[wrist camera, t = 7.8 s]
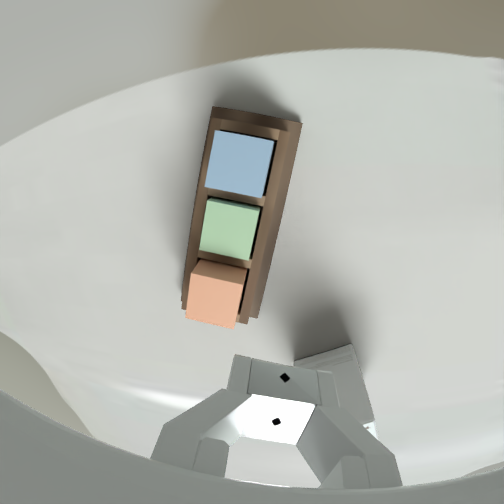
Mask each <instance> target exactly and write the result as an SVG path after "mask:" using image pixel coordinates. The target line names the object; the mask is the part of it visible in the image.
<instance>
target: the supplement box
mask: <svg viewBox="0 0 504 504" xmlns="http://www.w3.org/2000/svg"><path fill="white" fill-rule="evenodd" d="M294 367H299V368H305V369H312V370H324V371H331V372H332V373H333V377H334V382H335V387H336V391H337V396H338V401H339V406H340V408H345V409H346V410H347V411H348V412H349V413H350V414H351V415H352V416H353V417H354V418H355V419H356V420H357V421H358V422H359V423H360V424H361V425H363V426H364V427H365V428H366V429H367V430H368V431H369V432H370V433H371V434H372V435H373V436H374V437H375V438H376V439H377V440H379V437H378V432H377V427H376V423H375V418H374V415H373V411H372V407H371V404H370V400H369V397H368V393H367V390H366V387H365V383H364V380H363V377H362V373H361V370H360V367H359V364H358V361H357V357H356V354H355V351H354V348H353V345H352V344H349V345H346V346H343V347H340V348H337V349H334V350H330V351H327V352H324V353H321V354H317V355H314V356H311V357H307V358H304V359H301V360H297V361H294Z"/></svg>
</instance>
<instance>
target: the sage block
mask: <svg viewBox="0 0 504 504" xmlns="http://www.w3.org/2000/svg"><path fill="white" fill-rule="evenodd" d="M260 208H261V206H259V205H254V204H250V203H245V202H240V201H235V200H230V199H226V198H221V197H216V196H213V197H211V198H210V199H208V200H207V204H206V210H205V216H204V222H203V228H202V234H201V241H200V247H199V250H203V251H207V252H212V253H216V254H221V255H225V256H230V257H234V258H239V259H243V260H248V261H249V257H250V253H251V250H252V246H253V241H254V237H255V232H256V227H257V222H258V218H259V213H260Z"/></svg>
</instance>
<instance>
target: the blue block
mask: <svg viewBox="0 0 504 504" xmlns="http://www.w3.org/2000/svg"><path fill="white" fill-rule="evenodd" d="M273 146H274V141H270V140H266V139H261V138H256V137H250V136H245V135H240V134H234V133H229V132H223V131H217V130H215V134H214V139H213V144H212V149H211V154H210V160H209V165H208V170H207V176H206V182H205V187H208V188H213V189H218V190H223V191H228V192H233V193H238V194H243V195H248V196H253V197H257V198H262V195H263V192H264V188H265V183H266V179H267V174H268V169H269V165H270V160H271V155H272V151H273Z"/></svg>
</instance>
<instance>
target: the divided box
mask: <svg viewBox="0 0 504 504" xmlns="http://www.w3.org/2000/svg"><path fill="white" fill-rule="evenodd" d="M302 124H303V123H299V122H295V121H290V120H286V119H281V118H276V117H271V116H267V115H261V114H256V113H251V112H245V111H239V110H233V109H227V108H221V107H214V106H212V111H211V116H210V121H209V126H208V131H207V136H206V141H205V146H204V151H203V157H202V162H201V168H200V173H199V179H198V185H197V191H196V197H195V203H194V209H193V215H192V222H191V228H190V235H189V242H188V249H187V256H186V264H185V271H184V279H183V287H182V296H181V301H182V309H184V310H186V308H187V300H188V292H189V285H190V277H191V272H192V271H193V269H194V268H195V267H196V265H197V264H198V262H199V261H200V259H201V258H204V259H209V260H213V261H218V262H222V263H227V264H231V265H236V266H240V267H245V268H247V273H246V277H245V282H244V287H243V291H242V296H241V301H240V306H239V310H238V314H237V318H236V322H239V323H244V324H247V323H248V319H249V317H253V318H258V314H259V310H260V306H261V302H262V298H263V294H264V290H265V285H266V281H267V277H268V273H269V269H270V265H271V260H272V256H273V252H274V248H275V244H276V239H277V235H278V231H279V226H280V222H281V218H282V213H283V209H284V205H285V200H286V196H287V192H288V187H289V183H290V178H291V174H292V169H293V165H294V160H295V156H296V151H297V147H298V142H299V137H300V133H301V128H302ZM215 130H217V131H223V132H229V133H234V134H240V135H245V136H250V137H256V138H261V139H266V140H270V141H274V146H273V151H272V155H271V160H270V165H269V169H268V174H267V179H266V183H265V188H264V192H263V195H262V198H257V197H253V196H248V195H243V194H238V193H233V192H228V191H223V190H218V189H213V188H208V187H205V182H206V176H207V170H208V165H209V160H210V154H211V149H212V144H213V139H214V134H215ZM213 196H216V197H221V198H226V199H230V200H235V201H240V202H245V203H250V204H254V205H259V206H261V208H260V213H259V218H258V222H257V227H256V232H255V237H254V241H253V246H252V250H251V253H250V257H249V261H248V260H243V259H239V258H234V257H230V256H225V255H221V254H216V253H212V252H207V251H203V250H199V247H200V241H201V234H202V228H203V222H204V216H205V210H206V204H207V200H208V199H210V198H211V197H213Z"/></svg>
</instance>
